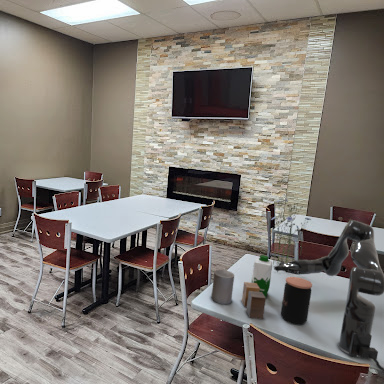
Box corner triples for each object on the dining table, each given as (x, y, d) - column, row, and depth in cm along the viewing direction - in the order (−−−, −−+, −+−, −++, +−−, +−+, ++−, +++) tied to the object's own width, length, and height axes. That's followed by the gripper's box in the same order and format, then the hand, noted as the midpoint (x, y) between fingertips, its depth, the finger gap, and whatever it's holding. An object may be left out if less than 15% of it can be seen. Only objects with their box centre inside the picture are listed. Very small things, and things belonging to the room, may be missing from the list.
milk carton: (269, 293, 177) (273, 256, 174) (267, 299, 169) (272, 262, 166) (251, 288, 181) (256, 253, 178) (249, 295, 173) (253, 258, 170)
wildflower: (307, 280, 198) (318, 205, 191) (266, 274, 202) (276, 201, 195) (296, 266, 220) (306, 199, 213) (259, 262, 224) (268, 195, 217)
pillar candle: (207, 295, 170) (210, 267, 167) (224, 294, 173) (227, 266, 170) (218, 305, 161) (221, 275, 158) (235, 303, 164) (239, 274, 161)
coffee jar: (284, 310, 159) (289, 274, 156) (309, 319, 153) (314, 281, 150) (277, 319, 151) (282, 281, 148) (303, 328, 144) (309, 289, 141)
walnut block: (263, 319, 150) (265, 298, 149) (249, 317, 151) (251, 296, 149) (259, 312, 156) (262, 292, 155) (246, 310, 157) (248, 290, 155)
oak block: (257, 308, 160) (259, 288, 159) (244, 306, 161) (246, 287, 159) (254, 302, 166) (256, 283, 164) (241, 300, 167) (243, 281, 165)
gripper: (295, 255, 185) (268, 256, 181) (313, 265, 172) (284, 266, 168) (293, 268, 186) (266, 270, 182) (311, 278, 173) (282, 280, 169)
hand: (275, 268), depth 175 cm, fingers closed
